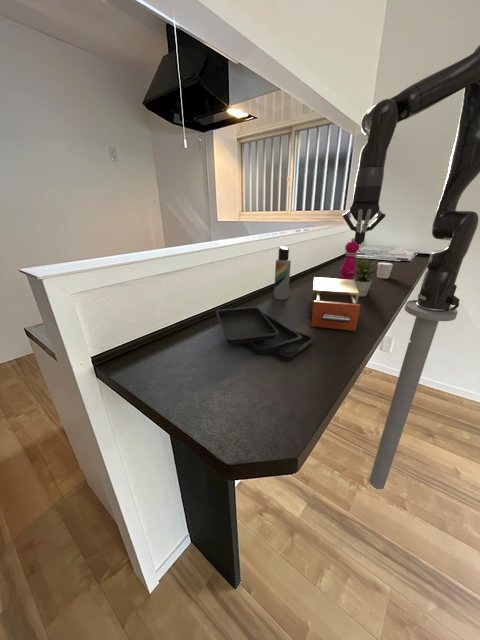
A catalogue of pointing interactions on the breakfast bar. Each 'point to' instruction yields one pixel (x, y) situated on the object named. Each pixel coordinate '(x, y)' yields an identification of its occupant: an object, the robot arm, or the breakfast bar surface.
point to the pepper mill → (351, 252)
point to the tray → (262, 332)
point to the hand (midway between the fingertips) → (358, 244)
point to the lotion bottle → (282, 274)
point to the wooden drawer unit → (335, 311)
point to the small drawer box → (333, 288)
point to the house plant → (363, 276)
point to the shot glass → (384, 269)
